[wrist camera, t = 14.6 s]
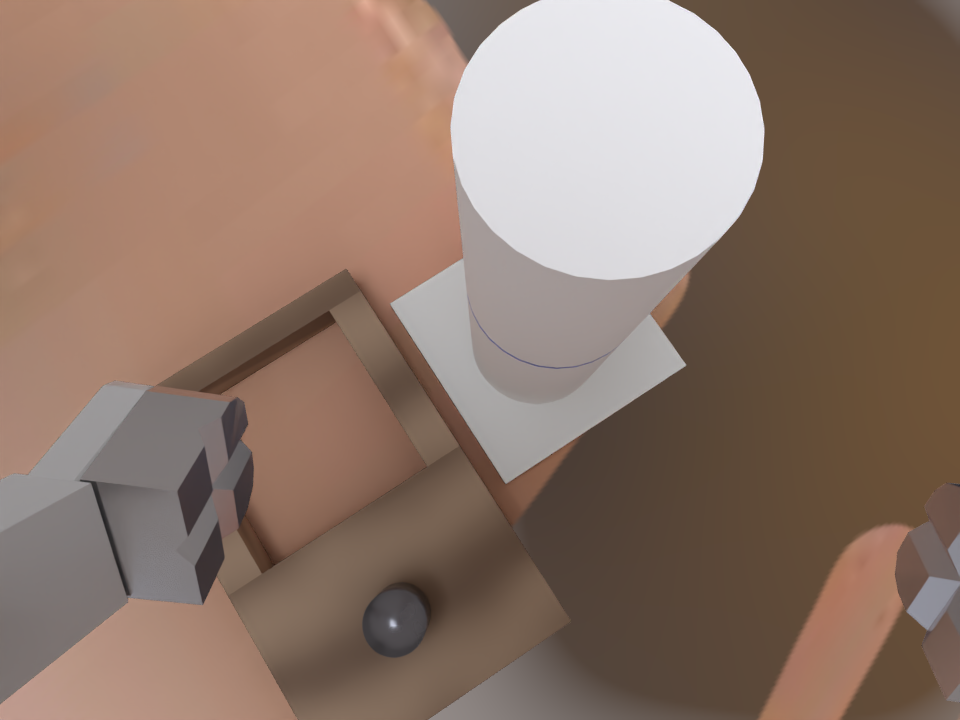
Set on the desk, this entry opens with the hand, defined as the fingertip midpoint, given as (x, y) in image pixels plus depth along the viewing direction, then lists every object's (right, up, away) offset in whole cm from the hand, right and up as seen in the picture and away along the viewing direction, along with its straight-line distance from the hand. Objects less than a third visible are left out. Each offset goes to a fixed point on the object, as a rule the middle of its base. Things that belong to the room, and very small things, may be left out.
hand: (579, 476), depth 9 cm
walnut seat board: (-8, -7, +32) cm, 34 cm away
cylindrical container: (+2, +2, +33) cm, 33 cm away
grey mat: (+2, +3, +33) cm, 34 cm away
